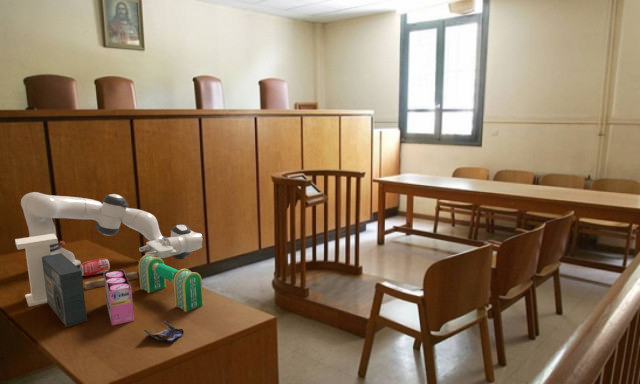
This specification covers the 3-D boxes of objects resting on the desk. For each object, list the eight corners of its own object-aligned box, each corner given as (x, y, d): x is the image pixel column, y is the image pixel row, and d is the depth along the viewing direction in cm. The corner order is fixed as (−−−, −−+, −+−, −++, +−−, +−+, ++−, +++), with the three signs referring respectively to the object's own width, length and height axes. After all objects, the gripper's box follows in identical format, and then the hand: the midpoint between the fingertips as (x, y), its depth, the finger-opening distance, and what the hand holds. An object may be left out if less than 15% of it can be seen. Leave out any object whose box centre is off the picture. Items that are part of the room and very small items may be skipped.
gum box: (105, 302, 186) (102, 271, 183) (126, 298, 189) (123, 267, 187) (111, 326, 165) (108, 291, 163) (134, 320, 169) (131, 286, 167)
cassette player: (47, 303, 186) (41, 256, 182) (66, 298, 190) (61, 253, 187) (66, 327, 165) (60, 275, 161) (87, 321, 169) (81, 270, 166)
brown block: (136, 277, 215) (135, 271, 214) (137, 279, 212) (137, 273, 212) (85, 288, 202) (84, 282, 201) (86, 290, 199) (85, 284, 199)
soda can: (105, 266, 226) (79, 272, 218) (105, 254, 223) (79, 260, 215) (110, 274, 221) (83, 280, 213) (110, 262, 218) (83, 268, 210)
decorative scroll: (203, 305, 182) (201, 270, 179) (185, 312, 176) (182, 275, 173) (158, 283, 206) (155, 252, 203) (140, 289, 199) (137, 256, 197)
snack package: (169, 327, 165) (139, 338, 156) (170, 311, 163) (140, 322, 154) (189, 342, 158) (158, 355, 149) (190, 326, 156) (159, 338, 147)
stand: (60, 289, 199) (53, 232, 195) (64, 298, 190) (57, 238, 185) (22, 297, 191) (14, 238, 186) (25, 307, 182) (17, 245, 177)
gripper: (179, 257, 214) (150, 264, 206) (164, 247, 230) (136, 253, 222) (178, 245, 213) (149, 251, 205) (163, 235, 229) (135, 241, 221)
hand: (142, 252), depth 213 cm, fingers open, 8 cm apart
